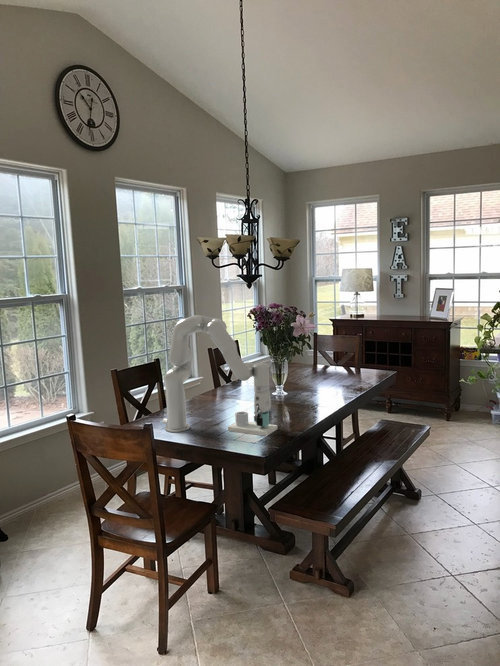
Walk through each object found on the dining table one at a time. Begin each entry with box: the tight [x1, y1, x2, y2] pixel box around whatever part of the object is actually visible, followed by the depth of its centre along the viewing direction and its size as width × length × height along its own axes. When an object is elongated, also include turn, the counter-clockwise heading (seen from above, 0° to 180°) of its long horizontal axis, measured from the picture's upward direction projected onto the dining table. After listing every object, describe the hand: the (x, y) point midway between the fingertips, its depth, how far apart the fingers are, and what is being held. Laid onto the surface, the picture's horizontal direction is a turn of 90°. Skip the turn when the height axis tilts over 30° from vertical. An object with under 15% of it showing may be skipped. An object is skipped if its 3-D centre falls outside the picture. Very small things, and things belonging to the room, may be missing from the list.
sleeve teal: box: [258, 411, 270, 426], centre depth 270 cm, size 6×6×6 cm
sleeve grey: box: [234, 411, 249, 427], centre depth 276 cm, size 6×6×6 cm
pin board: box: [227, 421, 278, 437], centre depth 273 cm, size 22×12×7 cm, turn 62°
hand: (262, 423), depth 270 cm, fingers closed on sleeve teal, 6 cm apart
